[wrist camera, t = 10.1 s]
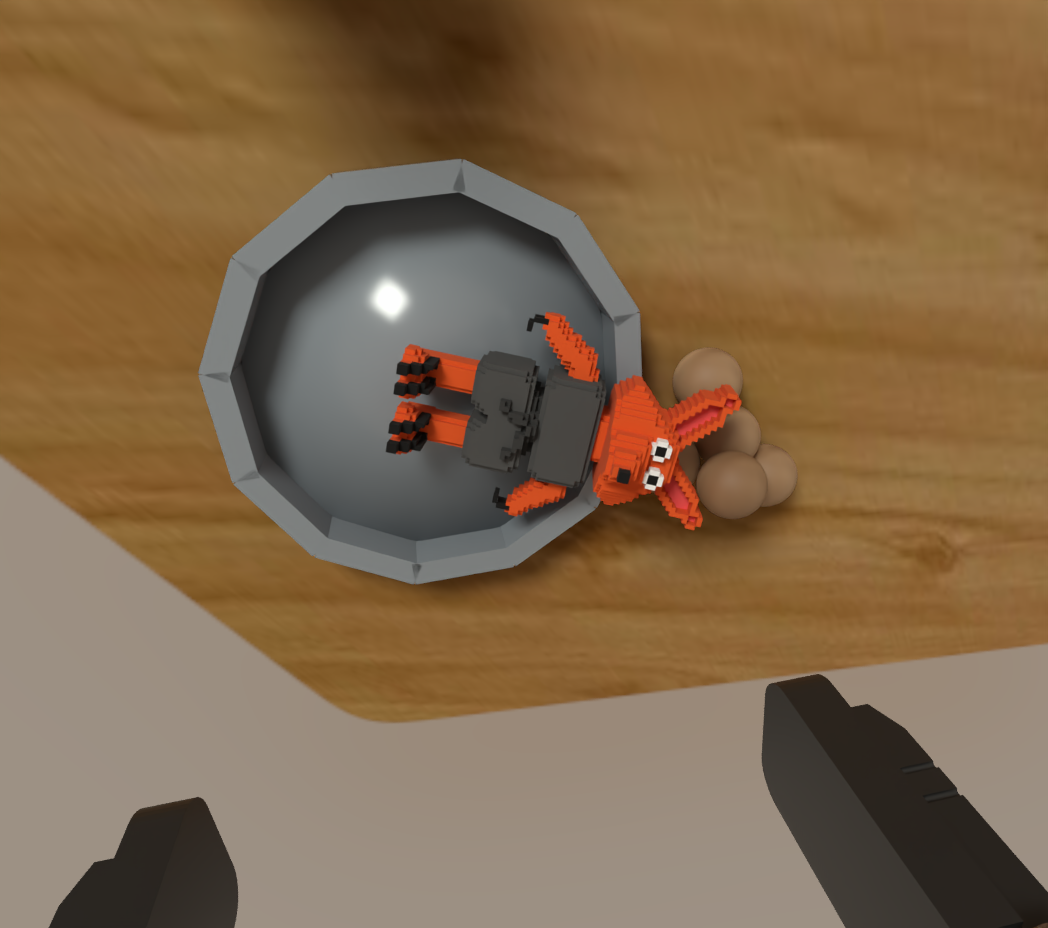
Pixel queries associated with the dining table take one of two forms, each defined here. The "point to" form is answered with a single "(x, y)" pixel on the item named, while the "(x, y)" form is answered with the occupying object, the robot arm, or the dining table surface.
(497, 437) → the toy animal
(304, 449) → the dish
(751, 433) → the bead pile
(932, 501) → the dining table surface
